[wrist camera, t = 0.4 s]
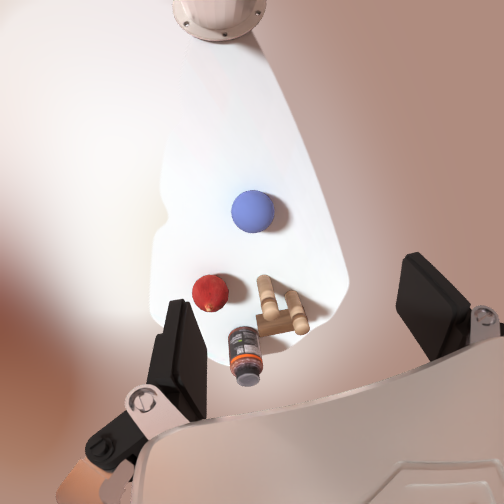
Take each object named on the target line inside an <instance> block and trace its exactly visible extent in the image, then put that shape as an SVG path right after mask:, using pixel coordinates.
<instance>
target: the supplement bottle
mask: <svg viewBox="0 0 504 504" xmlns="http://www.w3.org/2000/svg"><path fill="white" fill-rule="evenodd" d="M228 344H229V358H230V370H231V372H232V374H233V375H234V376H235V377H236V378H237V383H238V384H239V385H241V386H245V387H249V386H253V385H256V384H257V383H258V382H259V380H260V377H259V374H260V373H261V372H262V370H263V363H262V356H261V351H260V344H259V339H258V335H257V333H256V331H255V330H254V329H252V328H249V327H239V328H236V329H234V330H233V331H231V333H230V334H229V337H228Z"/></svg>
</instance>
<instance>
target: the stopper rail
mask: <svg viewBox="0 0 504 504" xmlns="http://www.w3.org/2000/svg"><path fill="white" fill-rule="evenodd" d="M302 307H303V306H302ZM303 310H304V308H303ZM304 313H305V311H304ZM305 315H306V314H305ZM306 318H307V316H306ZM256 320H257V326H258V331H259V336H260V337H264V336H269V335H275V334H280V333H285V332H290V331H295V330H294V326H293V324H292V320H291V316H290V313H289V310H288V309H285V310H280V311H279V317H278V318H277V319H276V320H273V321H267V320H265V319H264V317H263V314H259V315H256ZM307 321H308V319H307Z"/></svg>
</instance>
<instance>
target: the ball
mask: <svg viewBox="0 0 504 504" xmlns="http://www.w3.org/2000/svg"><path fill="white" fill-rule="evenodd" d="M231 213H232V218H233V221H234V223H235V224H236V225H237V227H238V228H240V229H241V230H243V231H245V232H248V233H258V232H261V231H263V230H265V229H266V228H267V227H268V226H269V225H270V224H271V222H272V221H273V218H274V206H273V203H272V201H271V199H270V198H269V197H268V196H267V195H266V194H264V193H262V192H260V191H256V190H250V191H246V192H243V193H242V194H240V195H239V196H238V197H237V198H236V199H235V201H234V203H233V205H232V210H231Z"/></svg>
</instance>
